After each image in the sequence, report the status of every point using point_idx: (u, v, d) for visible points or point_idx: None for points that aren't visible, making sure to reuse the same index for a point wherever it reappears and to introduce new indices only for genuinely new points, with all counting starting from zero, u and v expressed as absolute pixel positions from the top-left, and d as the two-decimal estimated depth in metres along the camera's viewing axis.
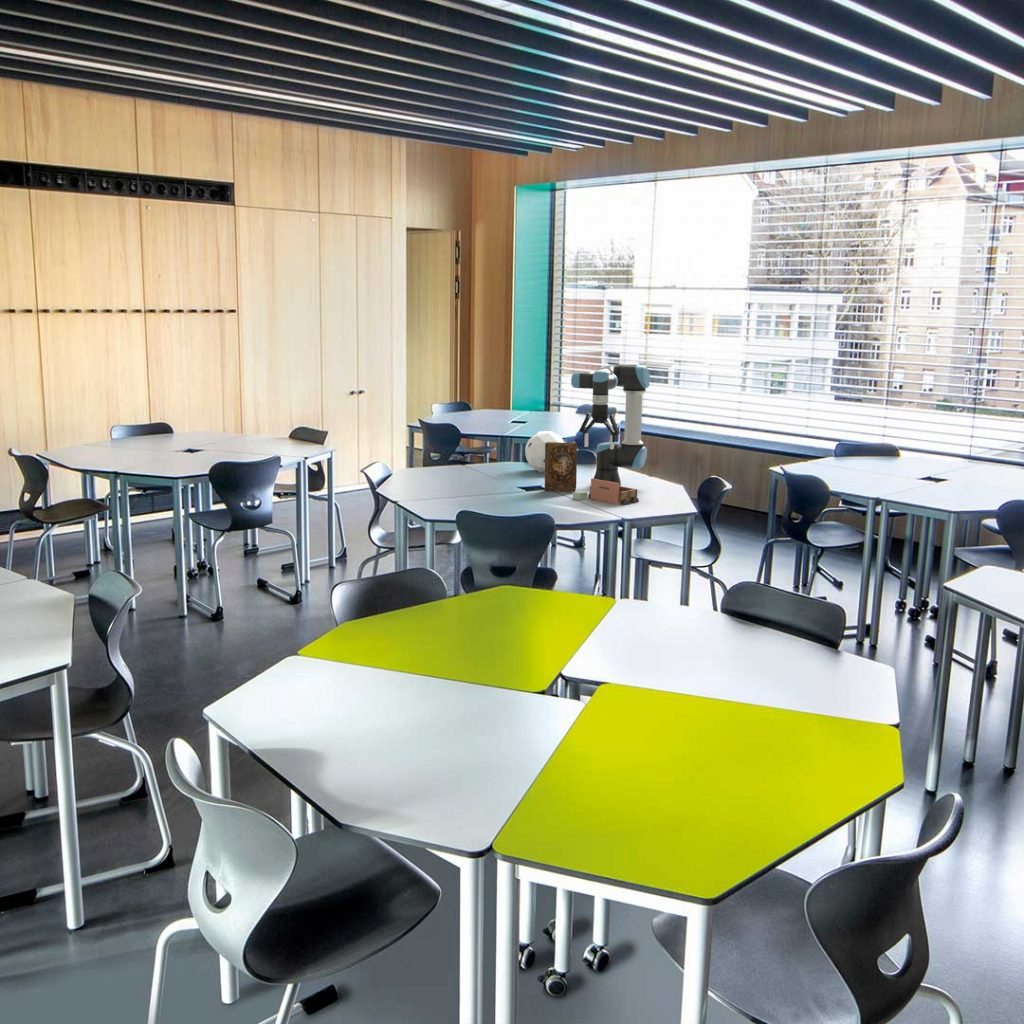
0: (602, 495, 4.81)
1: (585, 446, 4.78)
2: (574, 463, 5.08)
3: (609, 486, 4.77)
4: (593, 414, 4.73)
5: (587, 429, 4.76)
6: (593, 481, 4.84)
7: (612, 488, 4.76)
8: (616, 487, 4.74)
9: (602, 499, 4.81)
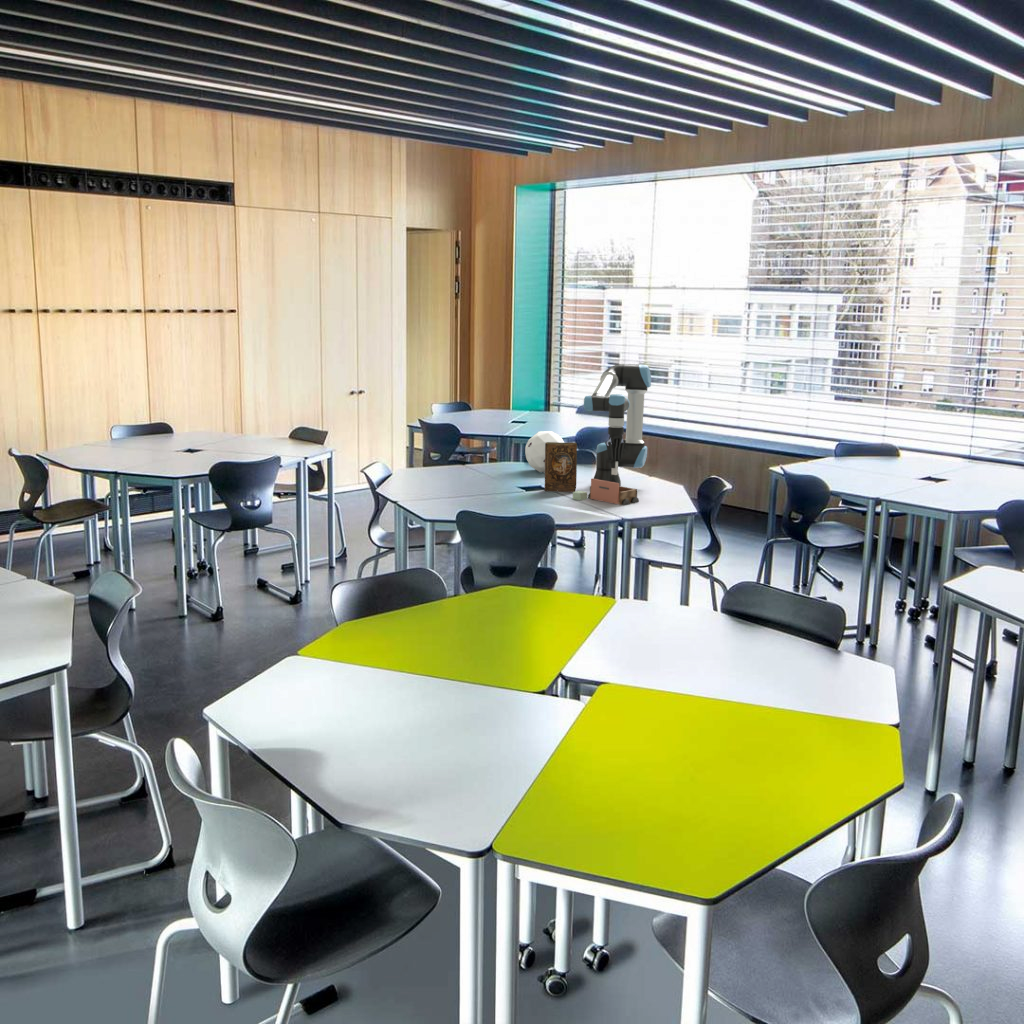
0: (602, 495, 4.81)
1: None
2: (574, 463, 5.08)
3: (609, 486, 4.77)
4: None
5: None
6: (593, 481, 4.84)
7: (612, 488, 4.76)
8: (616, 487, 4.74)
9: (602, 499, 4.81)
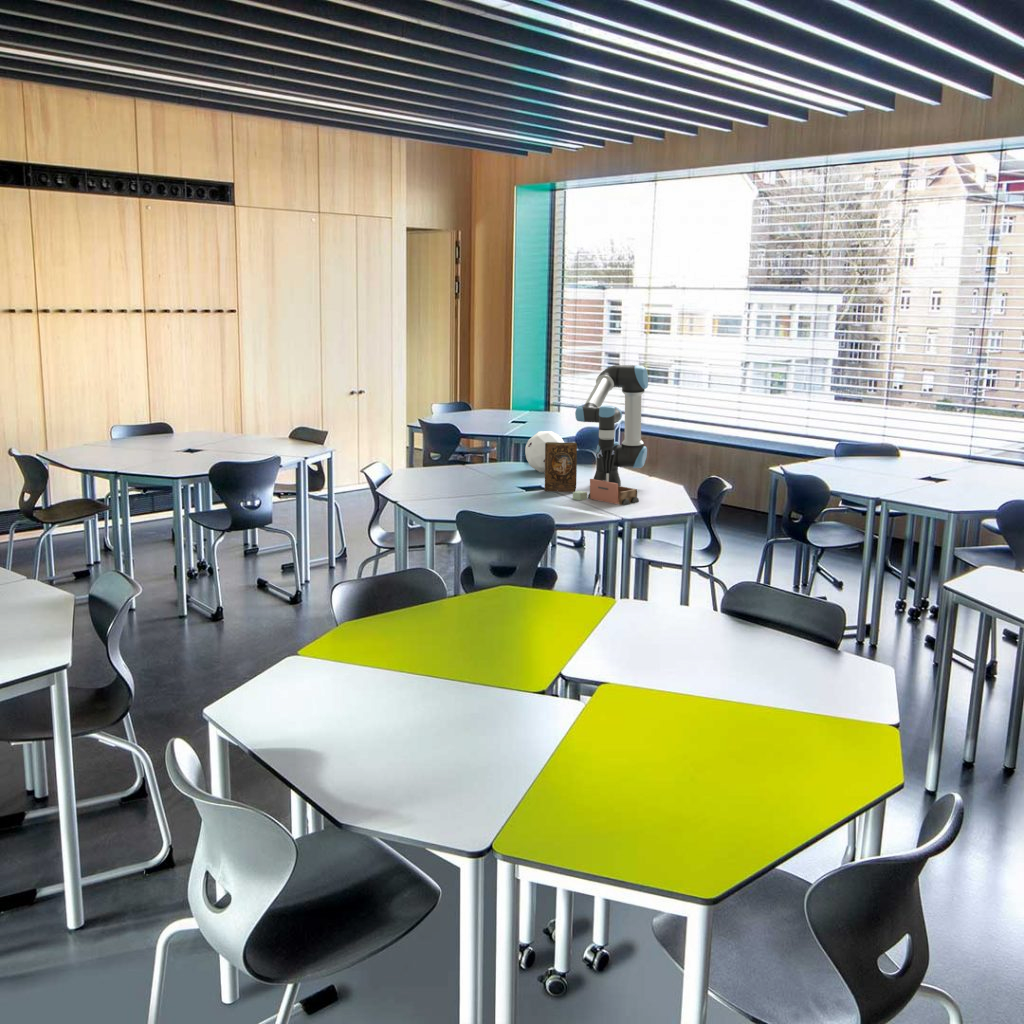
0: (602, 495, 4.80)
1: None
2: (574, 463, 5.08)
3: (608, 486, 4.76)
4: None
5: None
6: (591, 481, 4.83)
7: (611, 488, 4.75)
8: (615, 487, 4.73)
9: (602, 499, 4.81)
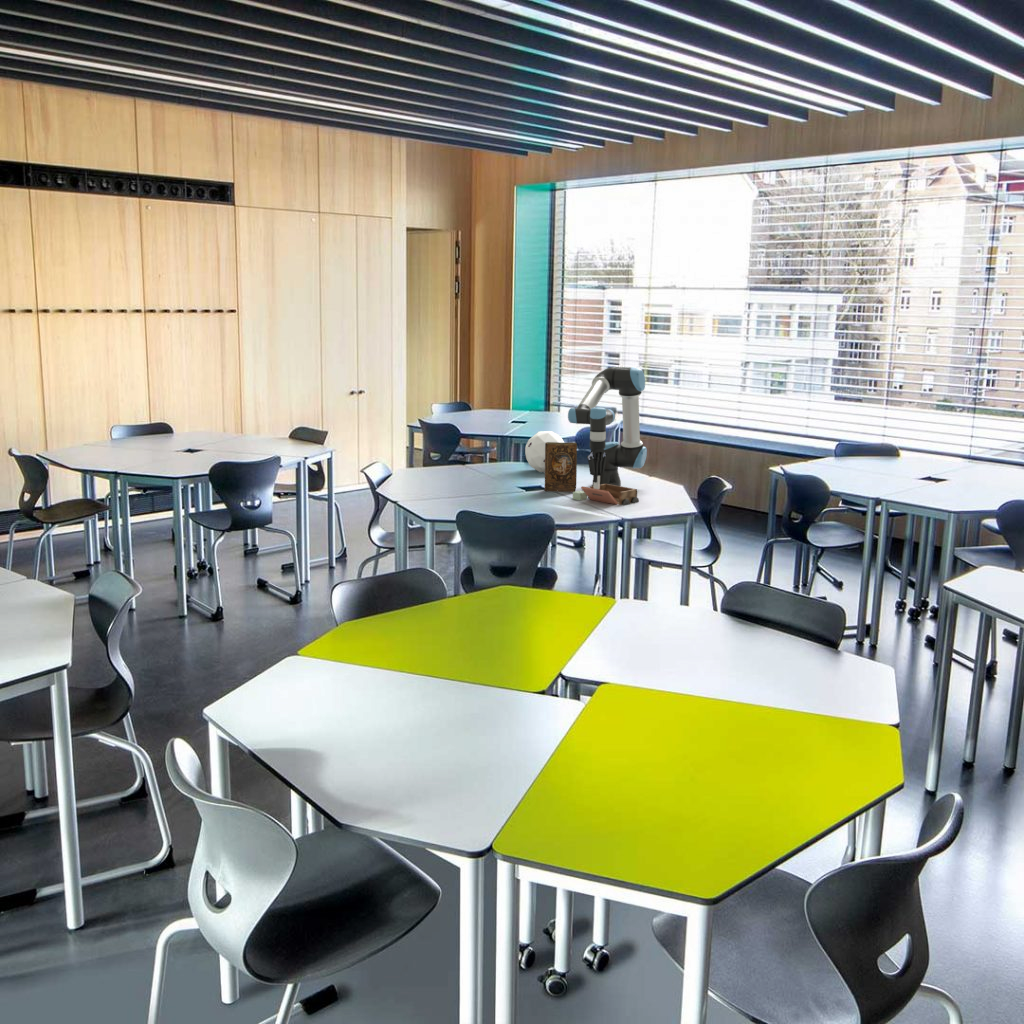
0: (599, 498, 4.79)
1: None
2: (574, 463, 5.08)
3: (601, 494, 4.73)
4: None
5: None
6: (583, 489, 4.80)
7: (604, 495, 4.73)
8: (608, 495, 4.70)
9: (601, 501, 4.81)
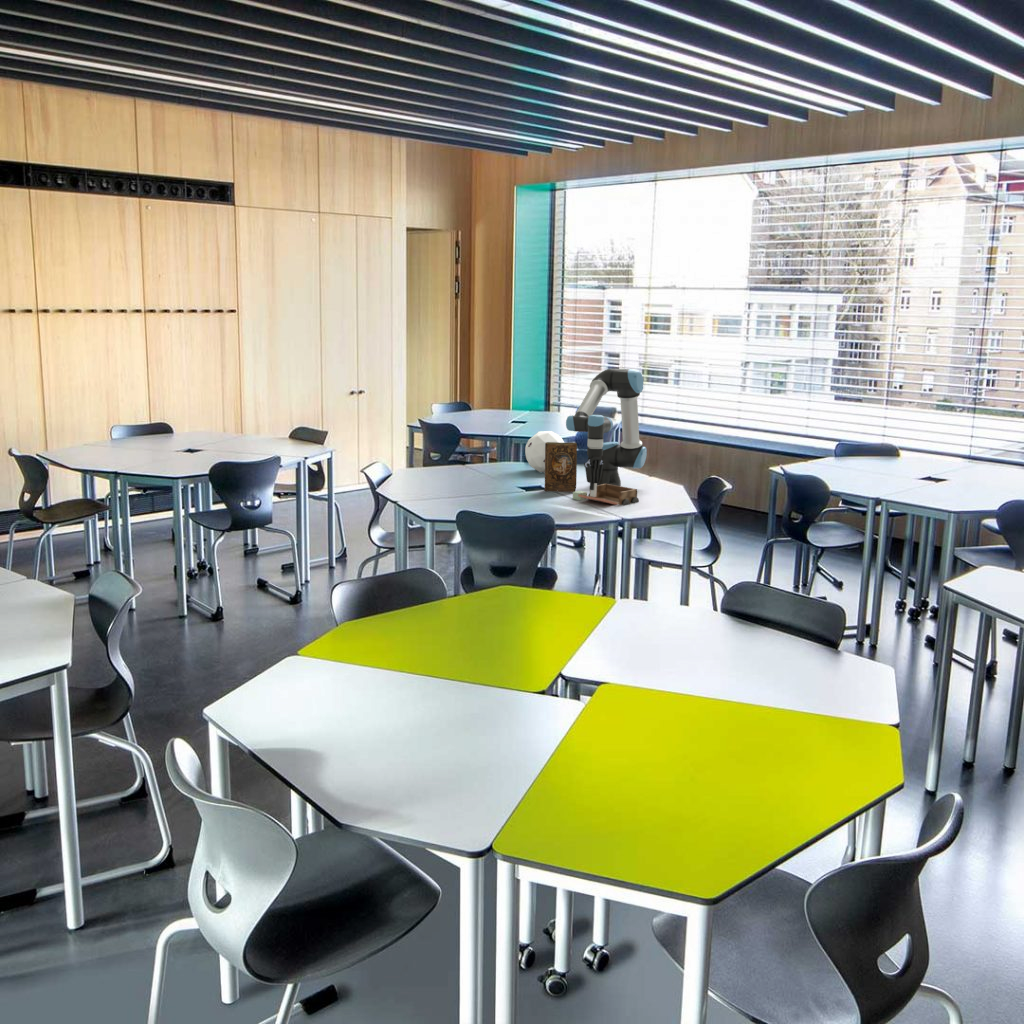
0: None
1: None
2: (574, 463, 5.08)
3: (599, 500, 4.73)
4: None
5: None
6: None
7: (602, 501, 4.72)
8: (605, 502, 4.70)
9: None
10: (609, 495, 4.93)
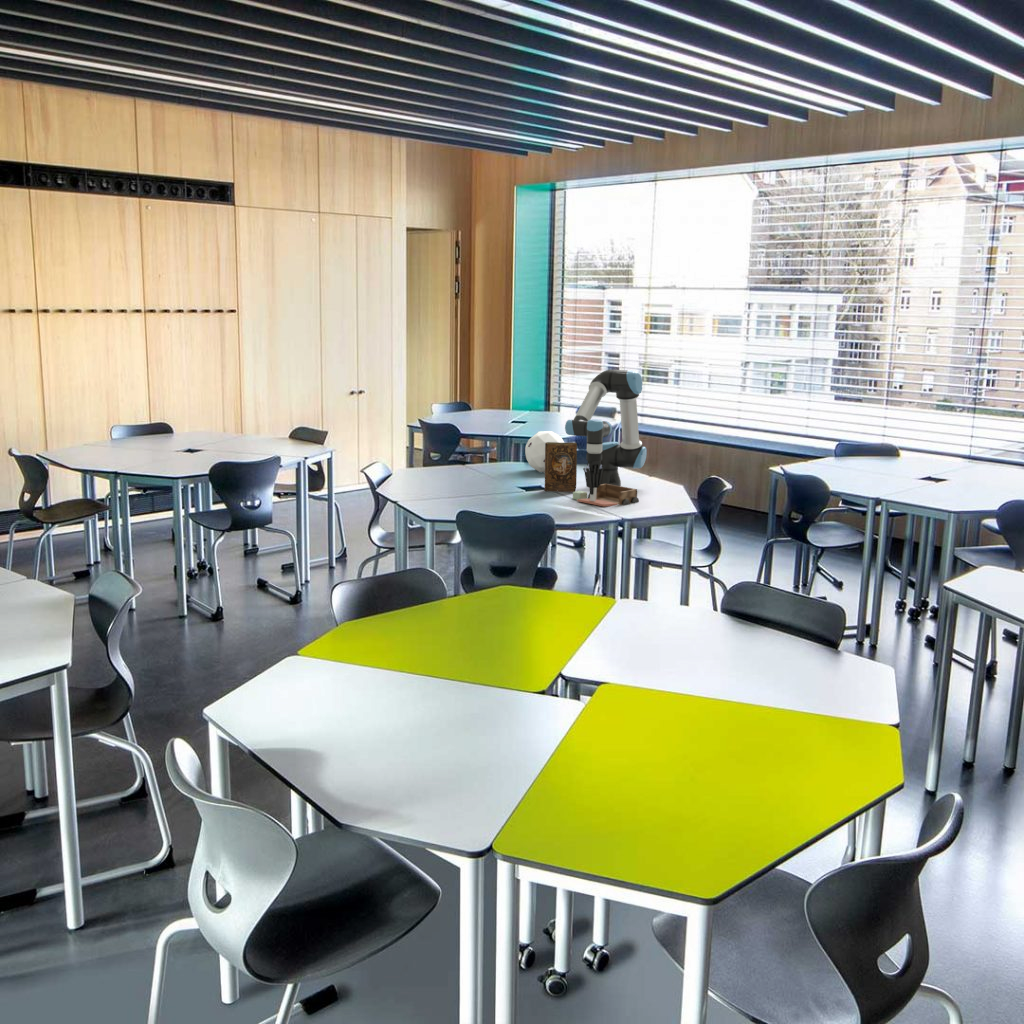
0: None
1: None
2: (574, 463, 5.08)
3: None
4: None
5: None
6: None
7: None
8: None
9: None
10: (609, 495, 4.93)
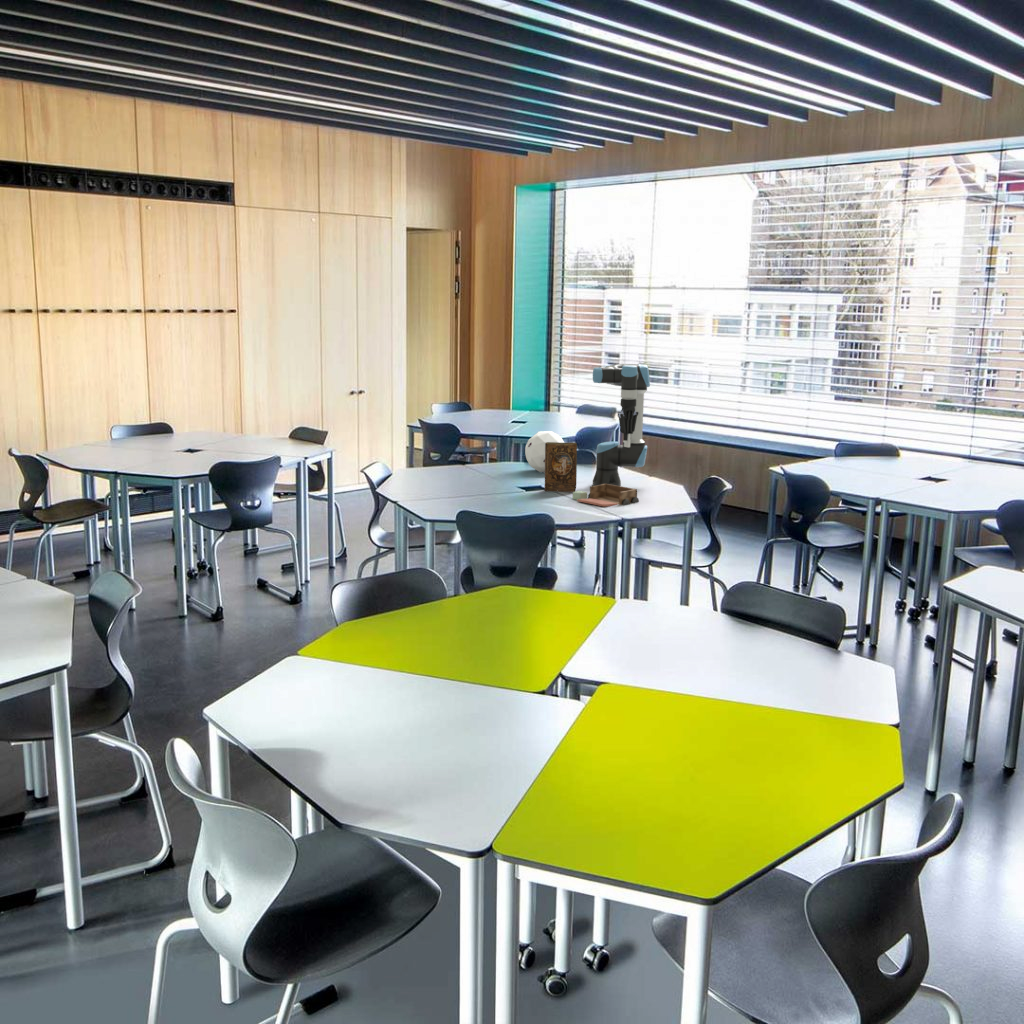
0: None
1: None
2: (574, 463, 5.08)
3: None
4: None
5: None
6: None
7: None
8: None
9: None
10: (609, 495, 4.93)
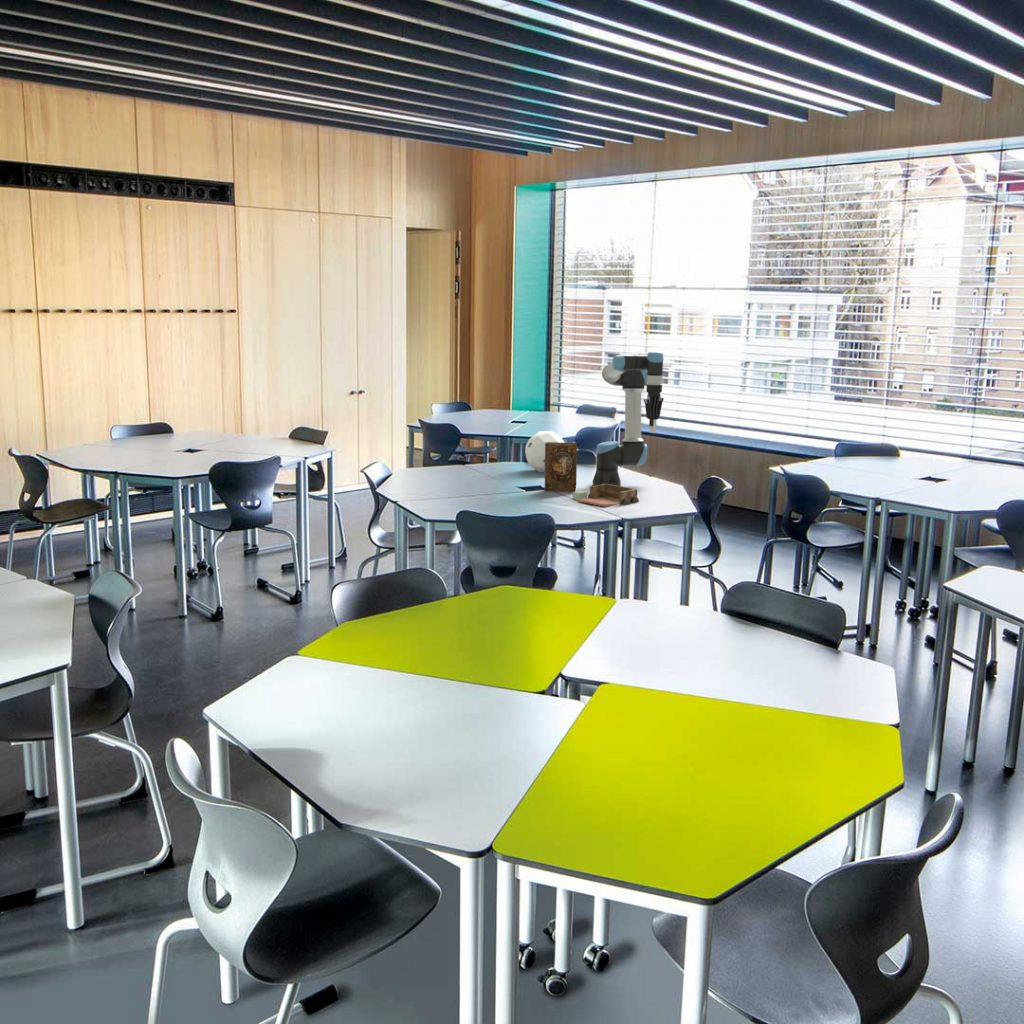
0: None
1: None
2: (574, 463, 5.08)
3: None
4: None
5: None
6: None
7: None
8: None
9: None
10: (609, 495, 4.93)
